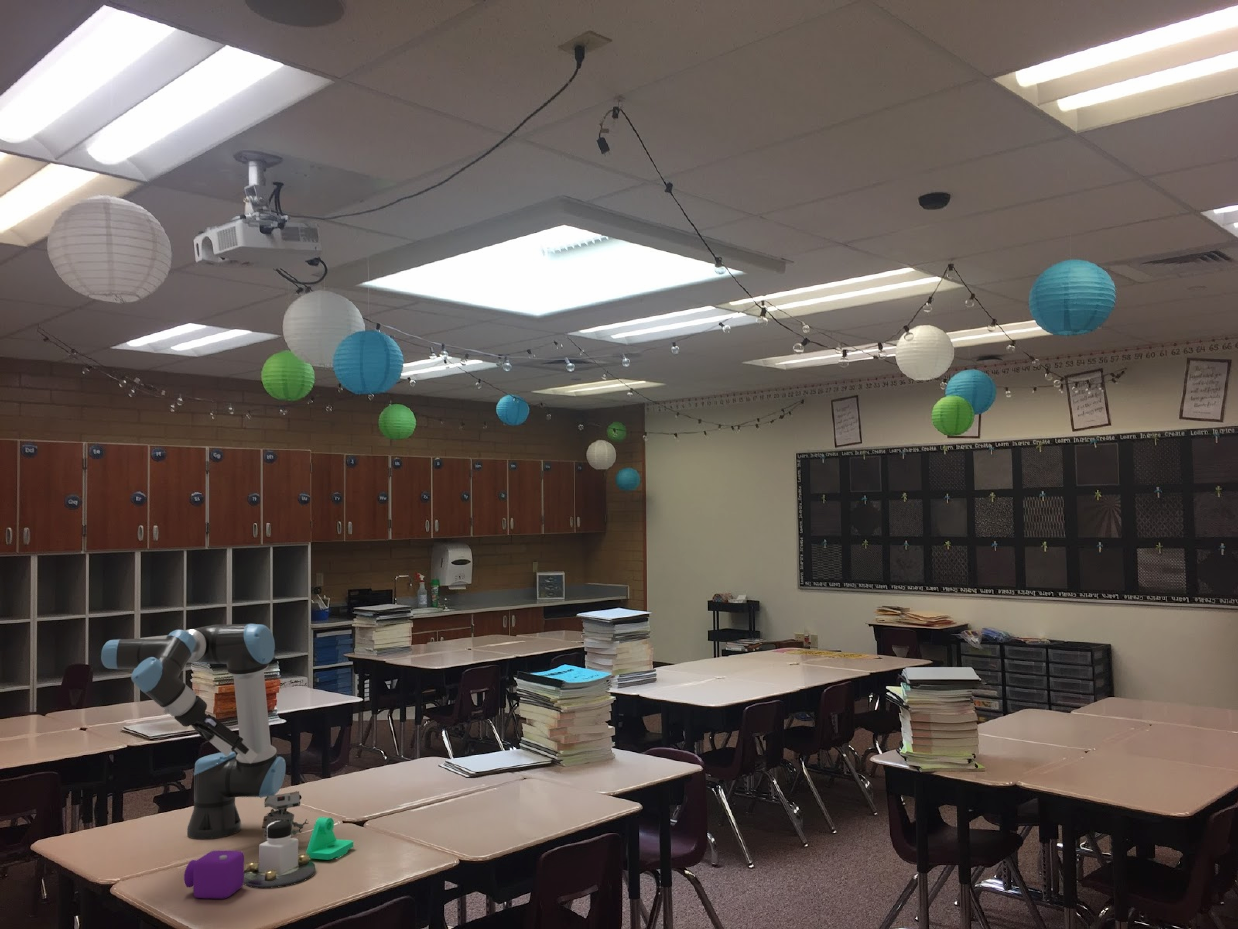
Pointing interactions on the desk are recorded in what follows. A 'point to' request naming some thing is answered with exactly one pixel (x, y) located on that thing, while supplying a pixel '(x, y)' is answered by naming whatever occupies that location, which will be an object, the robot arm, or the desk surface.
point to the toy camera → (216, 874)
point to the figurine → (282, 810)
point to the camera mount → (326, 841)
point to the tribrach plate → (274, 880)
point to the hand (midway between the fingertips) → (241, 755)
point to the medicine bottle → (278, 849)
